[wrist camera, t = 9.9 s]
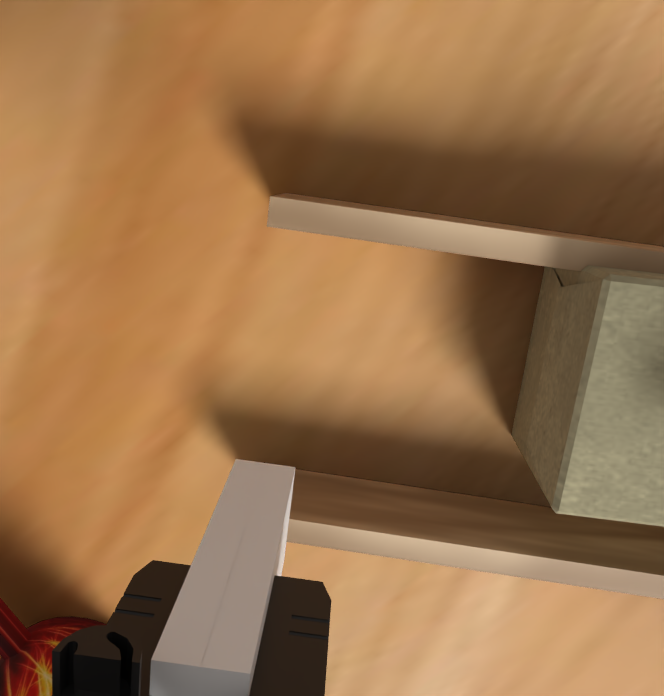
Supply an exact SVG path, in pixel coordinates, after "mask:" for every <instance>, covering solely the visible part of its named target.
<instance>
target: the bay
mask: <svg viewBox="0 0 664 696" xmlns="http://www.w3.org/2000/svg"><path fill="white" fill-rule="evenodd" d="M267 227H274V228H281V229H288V230H295V231H302V232H309V233H316V234H323V235H330V236H337V237H343V238H350V239H357V240H364V241H371V242H378V243H385V244H392V245H399V246H406V247H413V248H420V249H427V250H434V251H441V252H448V253H455V254H462V255H469V256H476V257H483V258H490V259H497V260H504V261H511V262H518V263H525V264H532V265H539V266H546V267H553V268H560V269H567V270H574V271H582V269H584V268H585V267H587V266H588V265H590V266H599V267H608V268H616V269H625V270H634V271H643V272H652V273H660V274H664V247H663V246H656V245H649V244H642V243H635V242H628V241H621V240H614V239H607V238H600V237H593V236H586V235H579V234H571V233H564V232H557V231H550V230H543V229H536V228H529V227H522V226H515V225H508V224H501V223H494V222H487V221H480V220H473V219H466V218H459V217H452V216H445V215H438V214H431V213H424V212H417V211H410V210H403V209H396V208H389V207H382V206H375V205H368V204H361V203H353V202H346V201H339V200H332V199H325V198H318V197H311V196H304V195H297V194H290V193H283V194H278V195H274V196H270V202H269V211H268V221H267ZM286 542H291V543H298V544H304V545H311V546H318V547H324V548H331V549H337V550H344V551H350V552H357V553H364V554H370V555H377V556H383V557H390V558H396V559H403V560H409V561H416V562H423V563H429V564H436V565H442V566H449V567H455V568H462V569H469V570H475V571H482V572H488V573H495V574H501V575H508V576H514V577H521V578H528V579H534V580H541V581H547V582H554V583H560V584H567V585H574V586H580V587H587V588H593V589H600V590H606V591H613V592H619V593H626V594H633V595H639V596H646V597H652V598H659V599H664V527H663V526H655V525H646V524H638V523H630V522H622V521H614V520H606V519H598V518H590V517H582V516H574V515H566V514H558V513H555V511H554V510H553V509H552V508H551V507H545V506H539V505H532V504H525V503H519V502H512V501H505V500H499V499H492V498H485V497H479V496H472V495H465V494H459V493H452V492H445V491H439V490H432V489H425V488H419V487H412V486H405V485H399V484H392V483H385V482H379V481H372V480H365V479H359V478H352V477H345V476H339V475H332V474H325V473H319V472H312V471H306V470H299V469H295V475H294V483H293V492H292V500H291V508H290V516H289V525H288V533H287V541H286Z"/></svg>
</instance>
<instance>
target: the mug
mask: <svg viewBox="0 0 664 696" xmlns="http://www.w3.org/2000/svg"><path fill="white" fill-rule="evenodd" d="M95 625H107V624H104V623H102V622H98V621H95V620H91V619H88V618H80V617H56V618H52V619H48V620H44V621H41V622H39V623H36V624H34V625H32V626H30V627H29V628H27V629H26V628H25V626H24V625H23V624H22V623H21V622H20V621H19V619H18V618H17V617H16V616H15V615H14V613H13V612H12V611H11V610H10V609H9V608H8V606H7V605H6V604H5V603H4V602H3V601H2V599H1V598H0V655H1V656H2V657H1V659H0V696H52V650H53V649H54V648H55V647H56V646H57V645H58V644H59V643H60V642H61V641H62V639H64V638H65V637H67V636H69V635H71V634H72V633H74V632H76V631H78V630H80V629H84V628H88V627H92V626H95Z"/></svg>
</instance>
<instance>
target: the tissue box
mask: <svg viewBox="0 0 664 696" xmlns="http://www.w3.org/2000/svg"><path fill="white" fill-rule="evenodd" d="M511 435H512V437H513V439H514V440H515V442H516V444H517V446H518V448H519V449H520V451H521V453H522V455H523V457H524V459H525V460H526V462H527V464H528V466H529V468H530V469H531V471H532V473H533V475H534V477H535V479H536V480H537V482H538V484H539V486H540V488H541V489H542V491H543V493H544V495H545V497H546V499H547V500H548V502H549V504H550V506H551V508H552V509H553V510H554V511H555V513H558V514H566V515H574V516H582V517H590V518H598V519H606V520H614V521H622V522H630V523H638V524H646V525H655V526H663V527H664V274H660V273H652V272H643V271H634V270H625V269H616V268H608V267H599V266H590V265H588V266H587V267H585V268H584V269H582V271H574V270H567V269H560V268H553V267H546V266H545V268H544V273H543V278H542V283H541V288H540V293H539V298H538V303H537V308H536V313H535V318H534V323H533V328H532V333H531V338H530V343H529V348H528V353H527V359H526V364H525V369H524V374H523V379H522V384H521V389H520V394H519V399H518V404H517V409H516V414H515V419H514V424H513V429H512V434H511Z"/></svg>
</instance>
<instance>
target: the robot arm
mask: <svg viewBox="0 0 664 696" xmlns="http://www.w3.org/2000/svg"><path fill="white" fill-rule="evenodd" d="M294 475H295V467H291V466H284V465H276V464H269V463H262V462H254V461H247V460H240V459H236V460H235V463H234V465H233V467H232V470H231V472H230V474H229V477H228V479H227V482H226V484H225V486H224V489H223V491H222V493H221V496H220V498H219V500H218V503H217V505H216V508H215V510H214V512H213V515H212V517H211V519H210V522H209V524H208V526H207V529H206V531H205V534H204V536H203V538H202V541H201V543H200V545H199V548H198V550H197V552H196V555H195V557H194V560H193V562H192V564H191V565H183V564H176V563H169V562H162V561H155V560H153V561H151V562H150V563H149V564H147V565H146V566H145V567H144V568H142V569H141V570H140V571H138V572H137V573H136V574H135V575H134V576H133V578H132V580H131V581H130V583H129V585H128V587H127V589H126V591H125V592H124V596H123V597H122V598H121V600H120V601H119V603H118V605H117V607H116V610H115V613H114V612H113V614H112V616H111V618H110V620H109V621H108V623H107V625H95V626H92V627H88V628H84V629H80V630H78V631H76V632H74V633H72V634H71V635H69V636H67V637H65V638H64V639H62V641H61V642H60V643H59V644H58V645H57V646H56V647H55V648H54V649H53V650H52V696H324V694H325V680H326V666H327V652H328V637H329V622H330V610H331V599H330V597H329V595H328V593H327V591H326V588H325V586H324V584H323V582H319V581H312V580H305V579H297V578H290V577H283V576H281V574H282V569H283V564H284V557H285V549H286V541H287V533H288V525H289V516H290V508H291V500H292V492H293V483H294Z"/></svg>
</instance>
